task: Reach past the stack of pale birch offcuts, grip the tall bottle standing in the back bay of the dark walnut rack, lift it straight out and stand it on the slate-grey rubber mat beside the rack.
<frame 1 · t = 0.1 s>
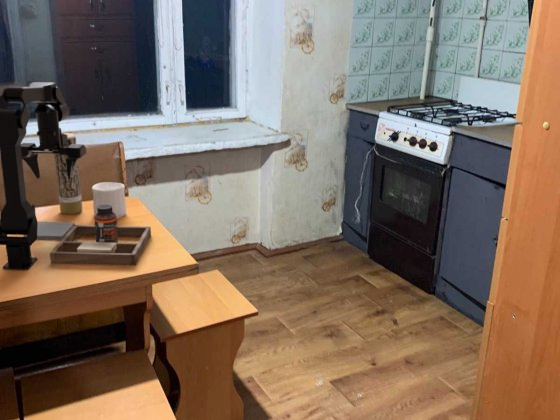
hand: (54, 178, 175), 15 cm above the table, tool pointing down, fingers open, 9 cm apart
rack: (103, 249, 164), on the table
mat: (50, 231, 175), on the table
patterned tall cylinder: (71, 212, 191), on the table
offcut middle: (96, 256, 158), point 1 cm above the table, touching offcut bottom, offcut top
supplement bottle: (107, 244, 167), on the table
offcut top: (97, 251, 158), point 2 cm above the table, touching offcut middle
cup: (110, 215, 189), on the table
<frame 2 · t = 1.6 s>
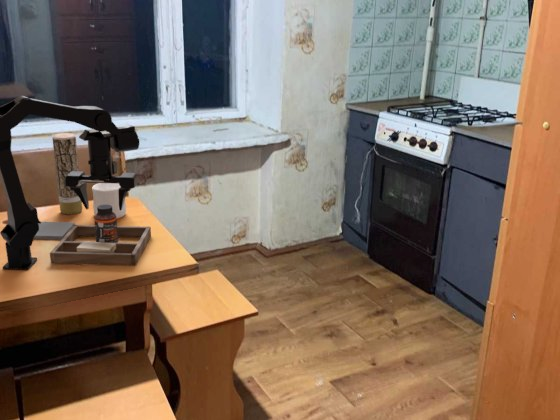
hand: (104, 209, 164), 10 cm above the table, tool pointing down, fingers open, 9 cm apart
nothing on the table moved.
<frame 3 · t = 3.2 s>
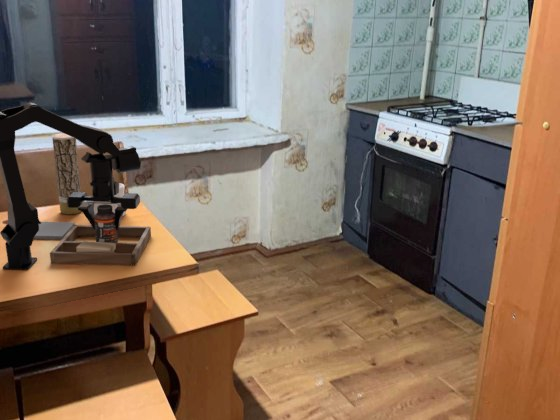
hand: (106, 229, 166), 5 cm above the table, tool pointing down, fingers closed on supplement bottle, 6 cm apart
offcut middle: (96, 255, 158), point 1 cm above the table, touching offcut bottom
supplement bottle: (107, 244, 167), on the table, touching gripper
offcut top: (96, 250, 158), point 2 cm above the table
everything else where it was.
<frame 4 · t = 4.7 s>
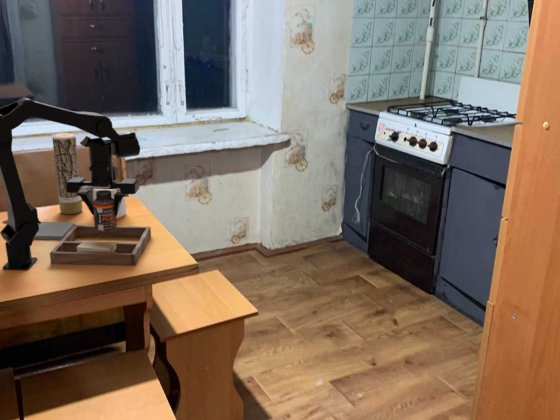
hand: (105, 215, 164), 9 cm above the table, tool pointing down, fingers closed on supplement bottle, 6 cm apart
offcut middle: (96, 255, 158), point 1 cm above the table, touching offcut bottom, offcut top
supplement bottle: (106, 231, 166), point 4 cm above the table, touching gripper
offcut top: (96, 250, 158), point 2 cm above the table, touching offcut middle
everything else where it was.
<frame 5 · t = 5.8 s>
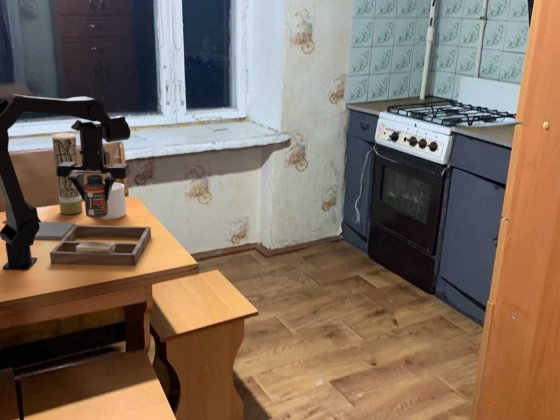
hand: (95, 200, 164), 13 cm above the table, tool pointing down, fingers closed on supplement bottle, 6 cm apart
supplement bottle: (97, 216, 165), point 8 cm above the table, touching gripper
everything else where it was.
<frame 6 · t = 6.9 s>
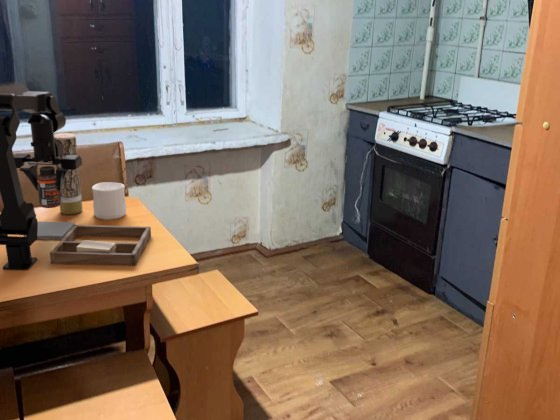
hand: (49, 190, 170), 13 cm above the table, tool pointing down, fingers closed on supplement bottle, 6 cm apart
supplement bottle: (50, 206, 171), point 8 cm above the table, touching gripper
everything else where it was.
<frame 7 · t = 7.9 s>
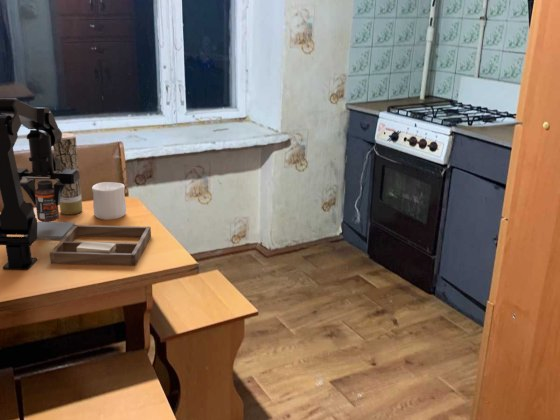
hand: (46, 204, 172), 9 cm above the table, tool pointing down, fingers closed on supplement bottle, 6 cm apart
offcut middle: (96, 255, 158), point 1 cm above the table, touching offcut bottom
supplement bottle: (48, 219, 173), point 4 cm above the table, touching gripper
offcut top: (96, 250, 158), point 2 cm above the table
everything else where it was.
when the fingers open (7 cm above the table, at t = 9.1 s): supplement bottle drops 1 cm, resting on mat.
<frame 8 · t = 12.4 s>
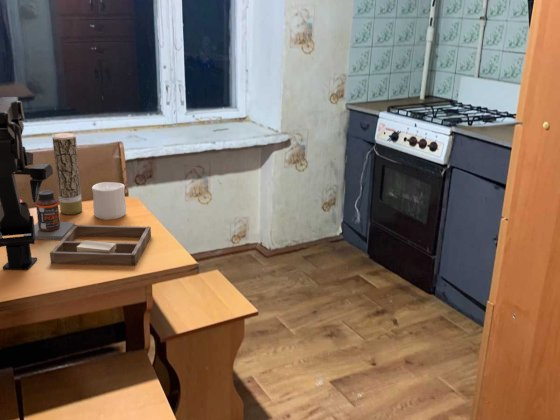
hand: (18, 201, 160), 13 cm above the table, tool pointing down, fingers open, 9 cm apart
offcut middle: (96, 255, 159), point 1 cm above the table, touching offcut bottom, offcut top
supplement bottle: (49, 229, 174), point 1 cm above the table, touching mat
offcut top: (96, 250, 158), point 2 cm above the table, touching offcut middle
everything else where it was.
at the end: supplement bottle inside the target area on the mat (0.0 cm from its centre), point 0.8 cm above the mat's base; supplement bottle tilted 0°; offcut top moved 0.7 cm from its start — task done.
